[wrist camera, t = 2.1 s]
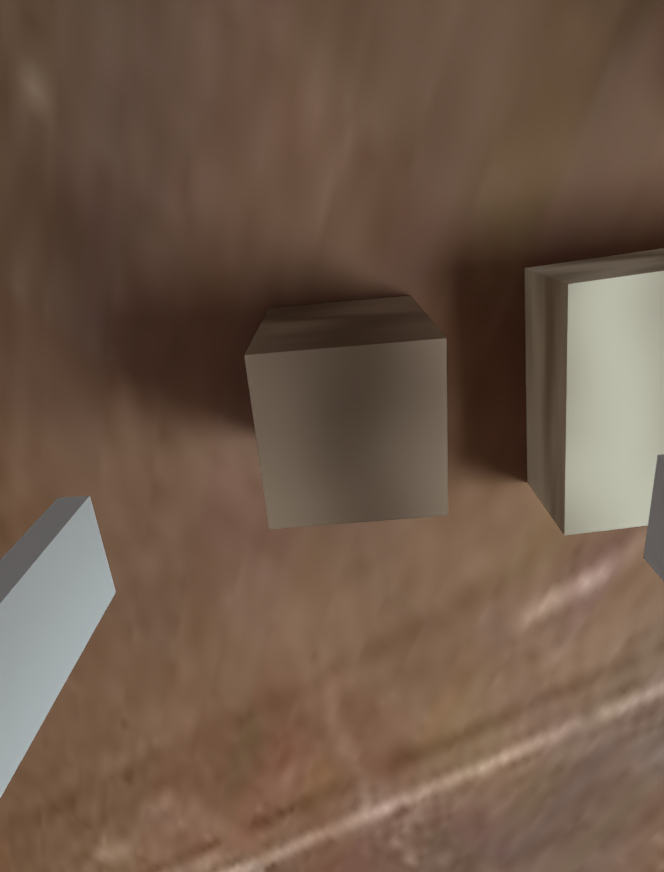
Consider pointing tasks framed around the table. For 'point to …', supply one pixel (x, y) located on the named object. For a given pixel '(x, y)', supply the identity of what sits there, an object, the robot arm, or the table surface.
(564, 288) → the pale square block
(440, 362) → the walnut block
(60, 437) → the table surface
